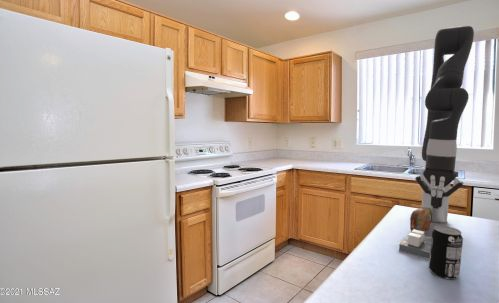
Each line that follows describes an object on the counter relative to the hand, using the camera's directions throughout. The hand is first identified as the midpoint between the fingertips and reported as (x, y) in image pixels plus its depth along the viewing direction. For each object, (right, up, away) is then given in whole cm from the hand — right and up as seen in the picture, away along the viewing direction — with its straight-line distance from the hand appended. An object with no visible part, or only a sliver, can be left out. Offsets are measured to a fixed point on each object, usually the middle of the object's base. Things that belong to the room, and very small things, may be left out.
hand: (435, 207), depth 87 cm
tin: (+4, -12, +15) cm, 19 cm away
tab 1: (-6, -11, 0) cm, 12 cm away
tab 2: (-8, -11, -2) cm, 14 cm away
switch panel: (-4, -13, -1) cm, 14 cm away
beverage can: (-8, -15, -15) cm, 22 cm away
